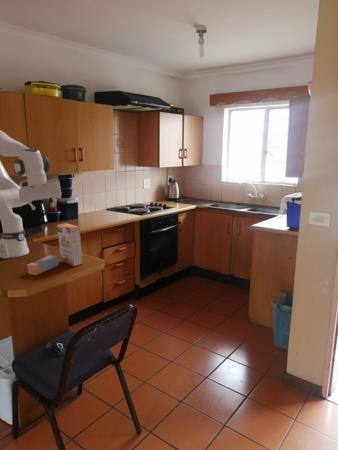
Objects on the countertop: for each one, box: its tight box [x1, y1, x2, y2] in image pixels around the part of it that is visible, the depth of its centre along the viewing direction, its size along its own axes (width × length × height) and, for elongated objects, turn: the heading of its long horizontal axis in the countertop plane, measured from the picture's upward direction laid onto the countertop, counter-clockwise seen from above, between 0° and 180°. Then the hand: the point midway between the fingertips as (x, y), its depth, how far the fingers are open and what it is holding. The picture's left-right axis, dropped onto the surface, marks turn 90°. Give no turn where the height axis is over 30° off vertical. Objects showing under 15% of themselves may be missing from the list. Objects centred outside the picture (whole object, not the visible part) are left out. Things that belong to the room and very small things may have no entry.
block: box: [27, 261, 43, 276], centre depth 174 cm, size 5×4×5 cm
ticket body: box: [34, 254, 60, 273], centre depth 181 cm, size 5×12×5 cm, turn 156°
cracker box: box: [56, 222, 84, 267], centre depth 186 cm, size 14×6×21 cm, turn 45°
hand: (43, 208), depth 179 cm, fingers open, 8 cm apart
